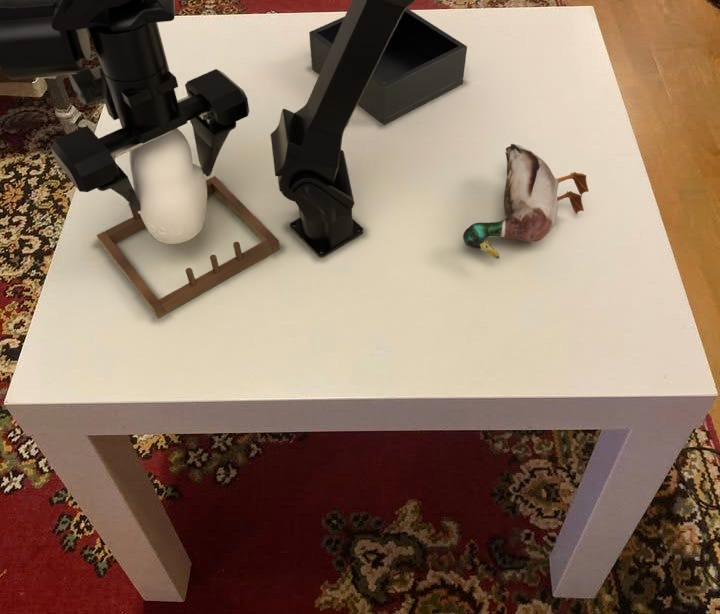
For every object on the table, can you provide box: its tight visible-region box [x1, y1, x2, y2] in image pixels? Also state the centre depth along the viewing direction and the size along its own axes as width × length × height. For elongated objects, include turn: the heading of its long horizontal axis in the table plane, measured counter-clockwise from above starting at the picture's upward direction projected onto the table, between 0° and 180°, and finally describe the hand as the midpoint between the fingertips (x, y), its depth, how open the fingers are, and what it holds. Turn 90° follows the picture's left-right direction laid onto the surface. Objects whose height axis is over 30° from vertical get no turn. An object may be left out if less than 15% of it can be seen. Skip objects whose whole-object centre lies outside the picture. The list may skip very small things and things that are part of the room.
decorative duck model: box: [462, 143, 590, 260], centre depth 83 cm, size 15×8×15 cm
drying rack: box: [96, 175, 281, 319], centre depth 82 cm, size 14×16×4 cm
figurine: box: [129, 128, 208, 245], centre depth 75 cm, size 7×8×12 cm
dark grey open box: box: [308, 7, 468, 126], centre depth 101 cm, size 17×15×6 cm
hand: (172, 190), depth 77 cm, fingers closed on figurine, 8 cm apart
